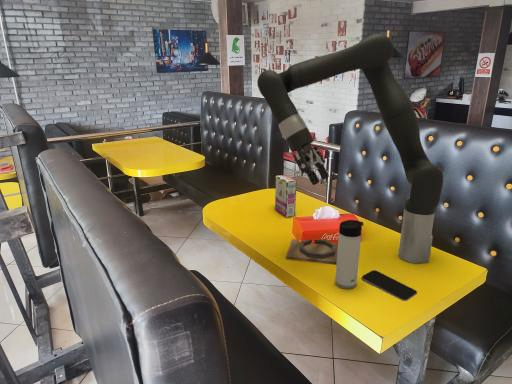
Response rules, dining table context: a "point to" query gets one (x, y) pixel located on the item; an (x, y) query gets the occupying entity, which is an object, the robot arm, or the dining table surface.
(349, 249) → the travel mug
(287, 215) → the candy bar box
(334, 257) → the mug holder board
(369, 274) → the smartphone
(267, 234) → the dining table surface
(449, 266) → the dining table surface
